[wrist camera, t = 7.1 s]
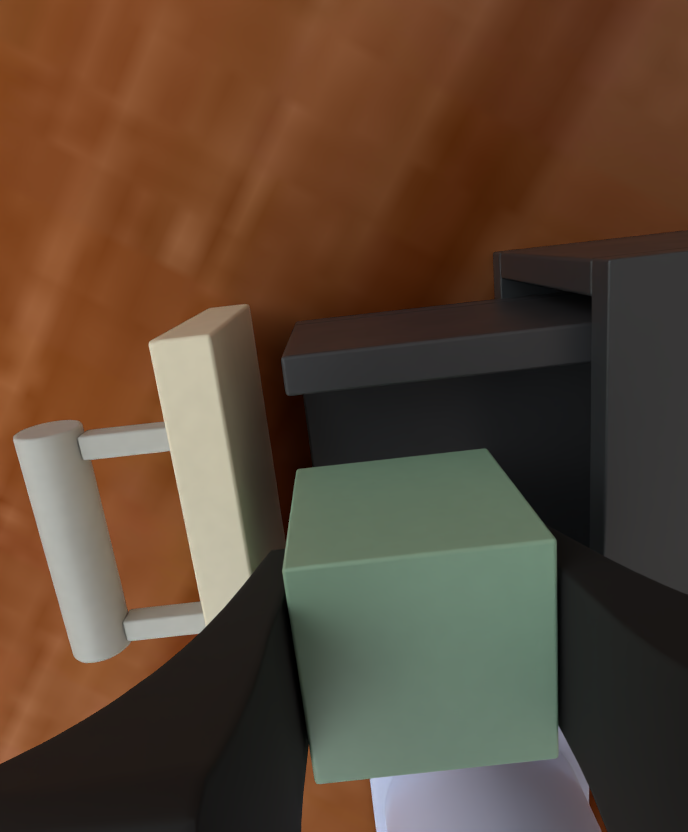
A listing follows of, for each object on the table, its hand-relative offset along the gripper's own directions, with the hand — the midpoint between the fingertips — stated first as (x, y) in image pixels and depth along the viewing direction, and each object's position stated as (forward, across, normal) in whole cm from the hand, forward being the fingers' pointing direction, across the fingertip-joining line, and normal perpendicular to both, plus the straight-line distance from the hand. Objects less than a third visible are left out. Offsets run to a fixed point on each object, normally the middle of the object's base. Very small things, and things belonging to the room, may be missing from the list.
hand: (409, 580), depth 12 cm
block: (+1, 0, 0) cm, 1 cm away
